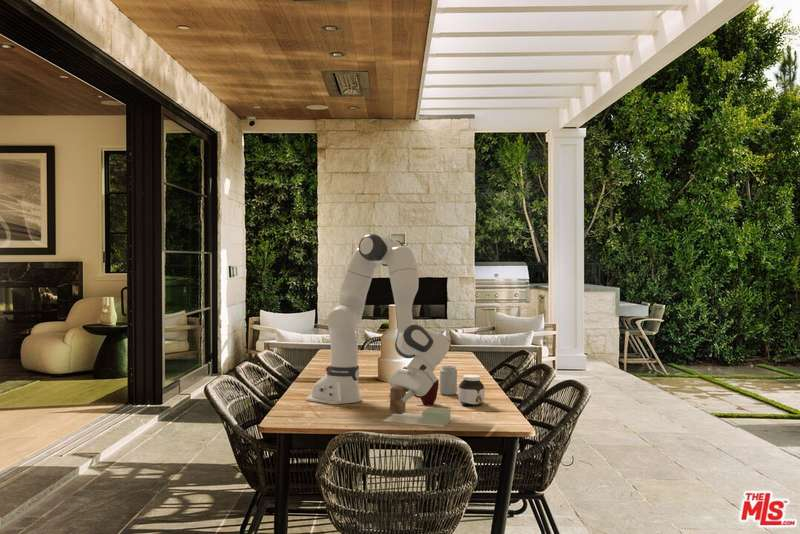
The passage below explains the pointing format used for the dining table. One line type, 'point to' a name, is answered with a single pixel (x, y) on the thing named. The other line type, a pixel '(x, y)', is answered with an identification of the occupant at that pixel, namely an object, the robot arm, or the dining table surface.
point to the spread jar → (471, 391)
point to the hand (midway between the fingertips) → (396, 399)
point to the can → (448, 380)
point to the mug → (430, 394)
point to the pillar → (397, 400)
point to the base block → (436, 416)
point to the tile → (409, 419)
